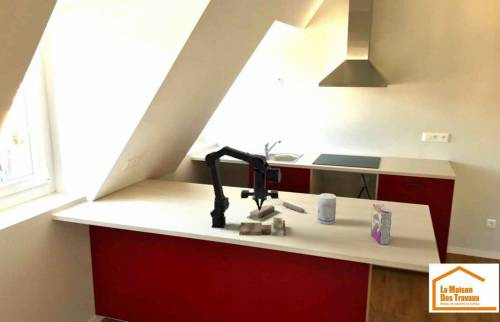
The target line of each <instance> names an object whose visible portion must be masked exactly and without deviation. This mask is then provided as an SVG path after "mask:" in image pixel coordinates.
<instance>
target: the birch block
mask: <svg viewBox="0 0 500 322" xmlns="http://www.w3.org/2000/svg"><path fill="white" fill-rule="evenodd" d="M272 221H273V222H272V223H273V229H282V223H283V217H273V219H272Z"/></svg>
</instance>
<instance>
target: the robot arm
mask: <svg viewBox="0 0 500 322" xmlns="http://www.w3.org/2000/svg"><path fill="white" fill-rule="evenodd" d="M224 156H227V157H230V158H233V159H236V160H238V161H243V162H245V163H247V164H249V165H250V167H252V168H251V169H250V170H249V172H250V173H253V191H250V190H249V189H242V190H241V192H240V199H248V198H249V197H251V198H252V199H251V200H252V201H254V202H255V204H256V206H257V209H258V210H259V211H260V210H261V207H263V206H264V202H265V201H268V197H270V199H271V198H272V199H273V200H276V199H277V200H279V198H278V197H279V191H278V190H277V189H274V190H273V189H272V190H271V189H270V192H269V189H268V188H266V181H267V182H269V183H280V182H281V178H282V173H281V168H279V167H278V168H272V166H270V164H269V163H268V161H267V160H268V159H267V158H266V156H265V155H263V154H255V153H254V154H253V153H248V152H246V151H242V150H239V149H236V148H233V147H230V146H228V145H225V146H223V147H221V148H220V149H218V150H216V151H211V152H210V153H207V154H206V155H204V161H205V165H206V167H207V168H208V169H209V171H210V177H211V182H212V186H213V191H214V192H213V193H214V201H213V209H212V210H211V211H210V212H209V214H210V217H211V219H212V220H211V223H212V224H211V228H217V229H219V228H222V229H224V227H225V226H226V223H227V221H226V216H225V213H226V212H227V210H228V209H229V207H230V204H231V203H230V199H229V197H228V196H227V197H226V195H225V194H224V188H223V183H222V177H221V173H220V164H221V158H223V157H224ZM272 199H271V200H272Z"/></svg>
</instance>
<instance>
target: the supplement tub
mask: <svg viewBox="0 0 500 322" xmlns="http://www.w3.org/2000/svg"><path fill="white" fill-rule="evenodd" d="M317 199H318V200H317V222H318V223H320V224H323V225H331V224H335V222H336V213H337V212H336V211H337V196H336V195H335V194H333V193H327V192H325V193H321V194H319V195H318V198H317Z"/></svg>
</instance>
